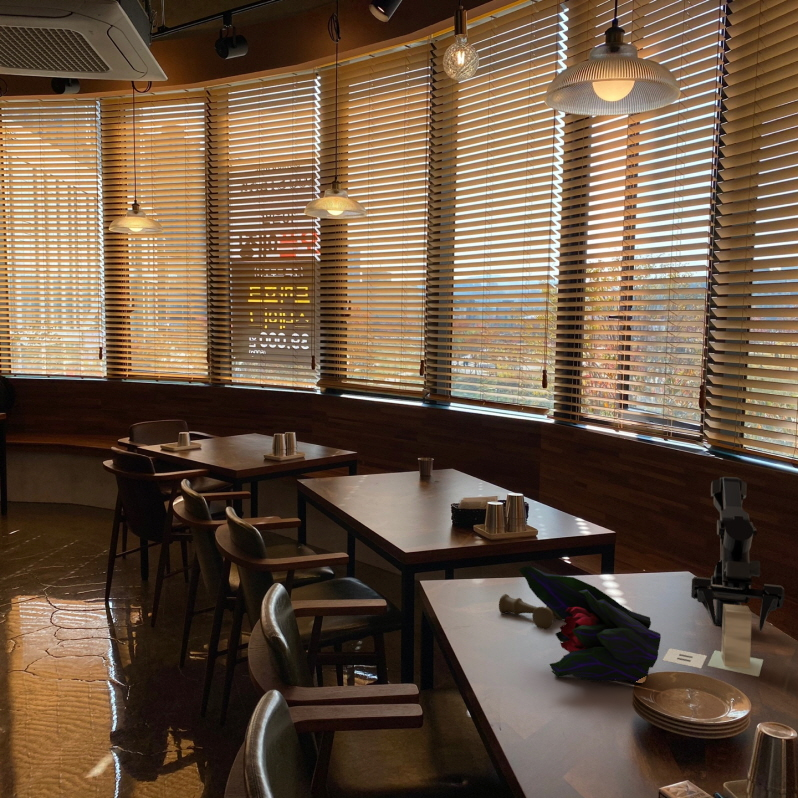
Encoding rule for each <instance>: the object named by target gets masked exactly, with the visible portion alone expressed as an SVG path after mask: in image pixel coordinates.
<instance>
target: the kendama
mask: <svg viewBox="0 0 798 798" xmlns="http://www.w3.org/2000/svg"><path fill="white" fill-rule="evenodd" d="M545 606H546V605H545ZM545 606H536V605H532V604H529V603H527V602H525V601H523V600H522V598H520V597H517V598H513V597H511V596H510V595H509V594H507V593H504V594H502V595H501V596H500V597H499V602H498V610H499V612H500V614H502V613H505V614H507V613H513V614H514V616H519V615H520V614H532V621H533V624H534V625H535V626H536V627H537V628H539V627H540V629H543V628H544V630H548V629H551V627H552V626H553V624H554V620H559V621H561V620H563V619H562V618H560V617H558V616H557V615H556V614H555V613H554V612H553V611H552V610H551V609H550V608H549V607H547V606H546V607H545Z"/></svg>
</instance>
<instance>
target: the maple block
mask: <svg viewBox="0 0 798 798" xmlns="http://www.w3.org/2000/svg"><path fill="white" fill-rule="evenodd" d="M752 615H753V612H752V611H751V609H750V608H749V605H742V604H741V605H731V604H723V621H722V625H721V626H722V628H721V630H722V631H721V657H722V660H723V663H724V666H732V667H741V668H750V657H751V646H752V644H751V643H752V640H751V639H752V619H753V618H752Z"/></svg>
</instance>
